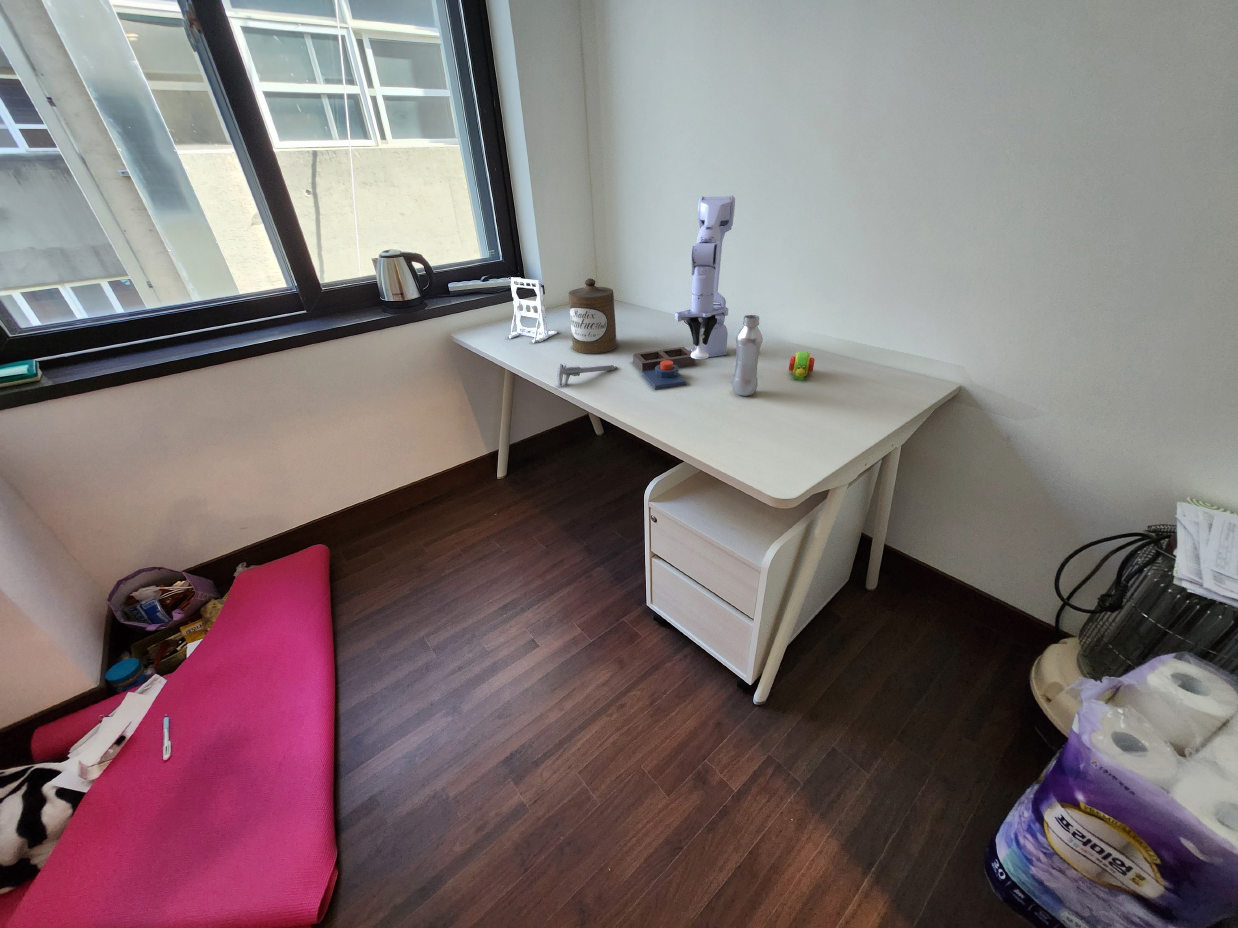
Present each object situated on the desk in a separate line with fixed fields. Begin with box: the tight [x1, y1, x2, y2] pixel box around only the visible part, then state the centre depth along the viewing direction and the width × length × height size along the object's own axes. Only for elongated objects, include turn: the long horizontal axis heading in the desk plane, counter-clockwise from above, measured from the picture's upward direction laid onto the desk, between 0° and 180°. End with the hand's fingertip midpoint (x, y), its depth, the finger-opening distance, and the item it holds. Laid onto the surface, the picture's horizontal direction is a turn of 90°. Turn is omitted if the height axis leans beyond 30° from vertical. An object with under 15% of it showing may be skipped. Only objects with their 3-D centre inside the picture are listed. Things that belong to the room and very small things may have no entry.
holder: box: [632, 346, 696, 373], centre depth 146 cm, size 17×9×3 cm, turn 106°
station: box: [641, 364, 687, 390], centre depth 136 cm, size 9×11×3 cm
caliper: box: [556, 363, 618, 387], centre depth 139 cm, size 20×1×6 cm, turn 129°
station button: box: [660, 360, 673, 371], centre depth 136 cm, size 4×4×2 cm
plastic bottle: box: [731, 314, 764, 397], centre depth 121 cm, size 6×7×20 cm
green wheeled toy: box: [788, 351, 815, 381], centre depth 137 cm, size 6×20×7 cm, turn 160°
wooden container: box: [567, 277, 617, 355], centre depth 158 cm, size 15×15×22 cm
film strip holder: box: [508, 276, 558, 344], centre depth 171 cm, size 14×14×20 cm
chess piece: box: [691, 320, 709, 360], centre depth 131 cm, size 5×5×10 cm
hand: (700, 344), depth 132 cm, fingers closed on chess piece
